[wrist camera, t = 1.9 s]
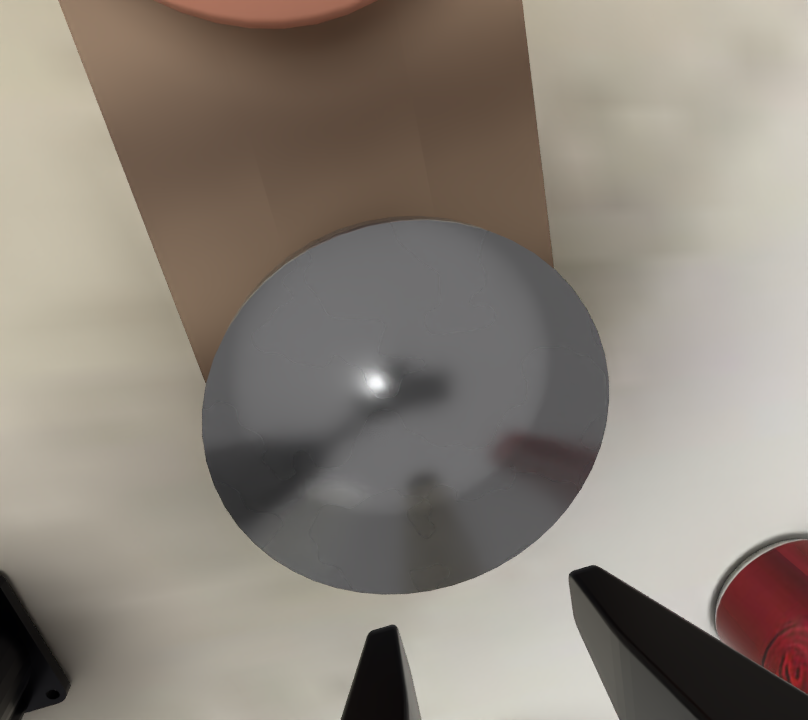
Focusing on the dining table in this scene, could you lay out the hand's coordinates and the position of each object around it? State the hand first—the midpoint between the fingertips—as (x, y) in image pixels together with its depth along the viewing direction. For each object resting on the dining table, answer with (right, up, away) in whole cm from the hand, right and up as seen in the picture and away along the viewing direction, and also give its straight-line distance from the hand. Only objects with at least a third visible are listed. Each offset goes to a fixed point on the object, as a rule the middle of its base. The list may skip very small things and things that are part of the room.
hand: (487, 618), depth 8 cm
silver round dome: (-2, +4, +10) cm, 10 cm away
